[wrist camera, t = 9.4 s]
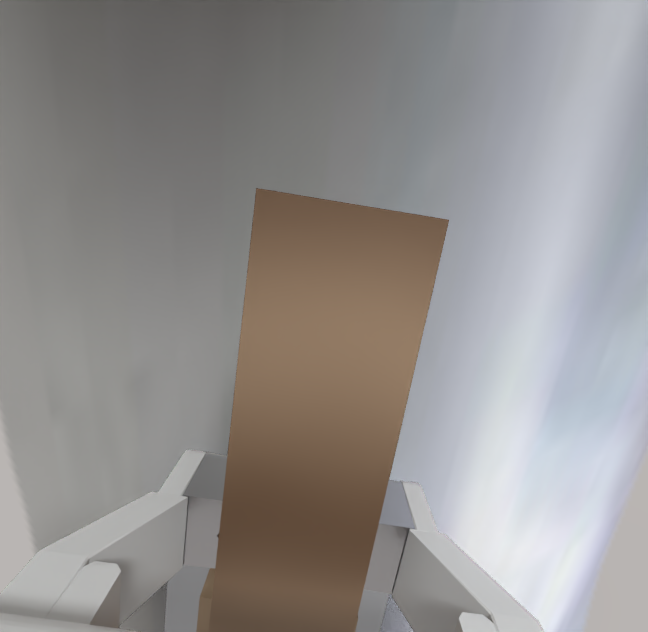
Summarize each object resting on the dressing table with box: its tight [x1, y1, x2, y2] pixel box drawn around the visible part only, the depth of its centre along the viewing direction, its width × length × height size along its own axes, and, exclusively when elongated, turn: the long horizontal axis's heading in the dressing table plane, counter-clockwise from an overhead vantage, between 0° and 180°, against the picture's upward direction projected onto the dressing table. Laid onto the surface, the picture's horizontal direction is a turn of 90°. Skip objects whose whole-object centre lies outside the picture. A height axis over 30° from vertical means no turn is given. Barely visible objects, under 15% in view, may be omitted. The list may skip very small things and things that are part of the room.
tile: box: [164, 565, 389, 632], centre depth 20 cm, size 2×12×11 cm
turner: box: [196, 188, 449, 632], centre depth 10 cm, size 19×5×4 cm, turn 171°
